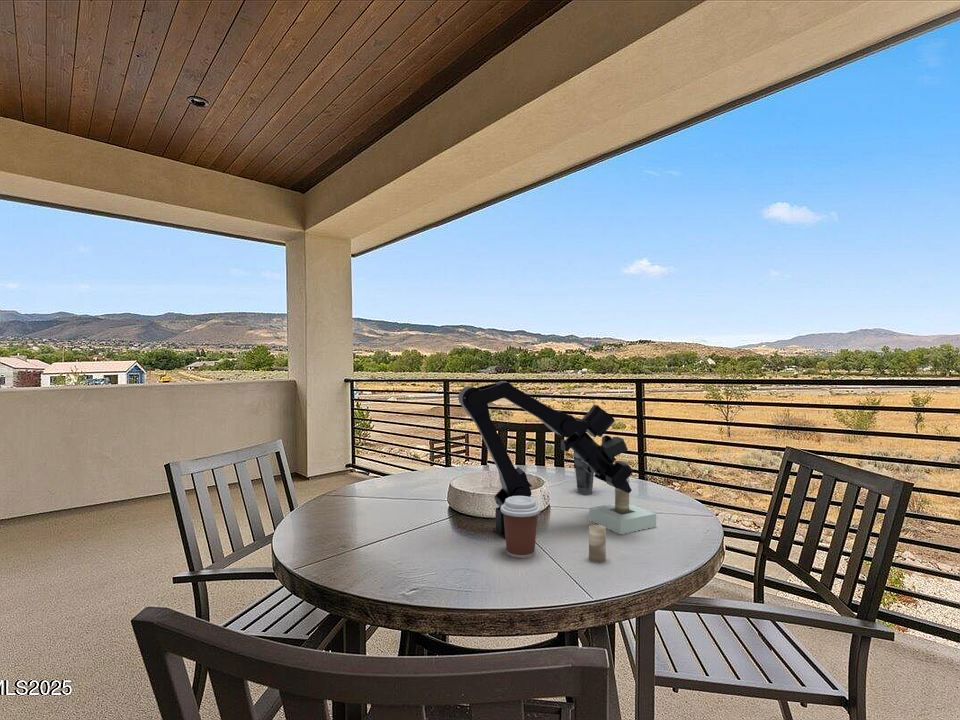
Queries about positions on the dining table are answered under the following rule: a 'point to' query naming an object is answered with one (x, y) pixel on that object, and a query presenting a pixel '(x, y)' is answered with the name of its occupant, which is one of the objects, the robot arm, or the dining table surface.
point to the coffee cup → (520, 525)
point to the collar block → (623, 518)
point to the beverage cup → (583, 477)
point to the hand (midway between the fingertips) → (626, 489)
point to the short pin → (597, 543)
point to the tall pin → (622, 498)
